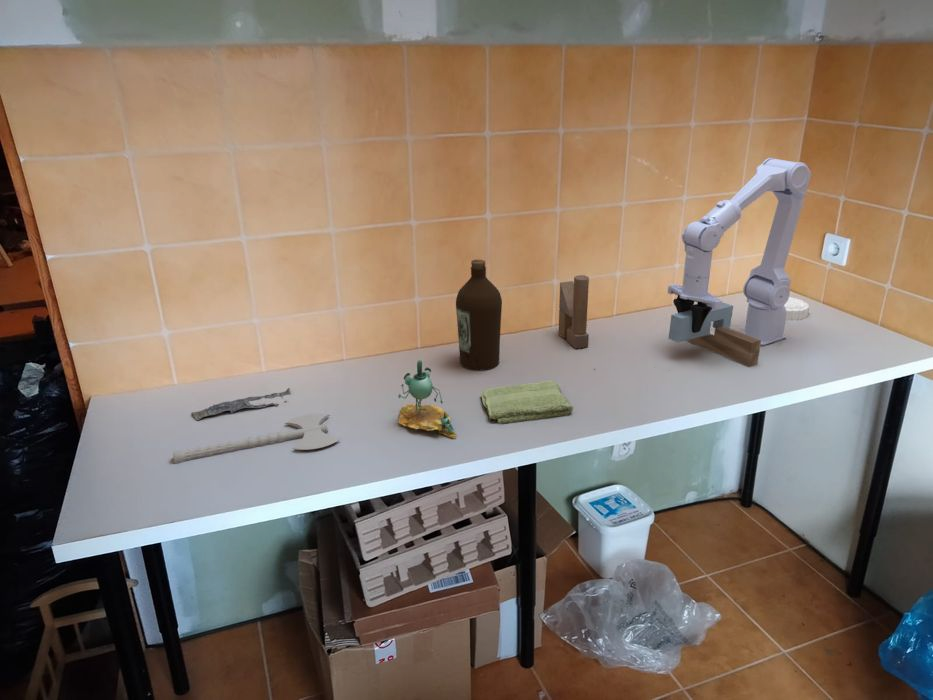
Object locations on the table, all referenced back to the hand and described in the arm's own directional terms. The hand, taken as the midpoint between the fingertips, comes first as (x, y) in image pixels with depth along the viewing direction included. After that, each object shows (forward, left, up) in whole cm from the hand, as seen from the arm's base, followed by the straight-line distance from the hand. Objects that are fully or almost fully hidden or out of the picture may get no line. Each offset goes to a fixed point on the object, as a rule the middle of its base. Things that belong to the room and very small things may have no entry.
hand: (690, 329), depth 168 cm
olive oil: (+44, -24, -7) cm, 51 cm away
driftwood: (+98, -33, -7) cm, 104 cm away
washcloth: (+48, 0, -7) cm, 49 cm away
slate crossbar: (-4, 0, -2) cm, 4 cm away
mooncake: (-44, -5, -7) cm, 44 cm away
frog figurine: (+69, -5, -7) cm, 70 cm away
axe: (+100, -16, -7) cm, 102 cm away
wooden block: (+17, -22, -7) cm, 29 cm away
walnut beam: (-8, +3, -6) cm, 10 cm away
